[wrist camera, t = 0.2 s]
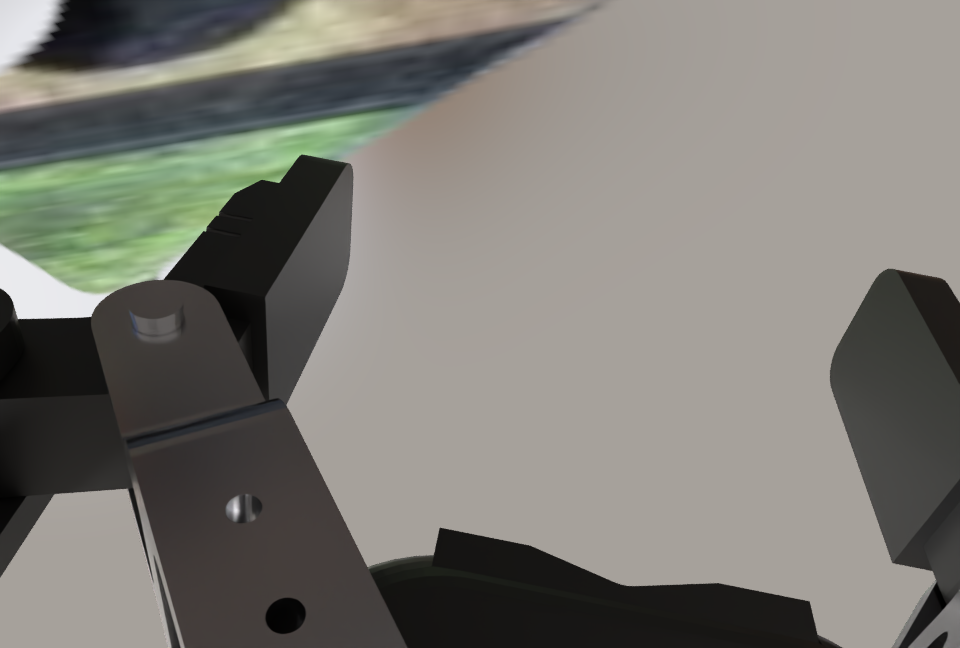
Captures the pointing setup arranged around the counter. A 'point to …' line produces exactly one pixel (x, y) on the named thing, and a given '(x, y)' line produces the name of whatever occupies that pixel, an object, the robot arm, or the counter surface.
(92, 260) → the counter surface
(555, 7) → the counter surface
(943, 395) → the robot arm
